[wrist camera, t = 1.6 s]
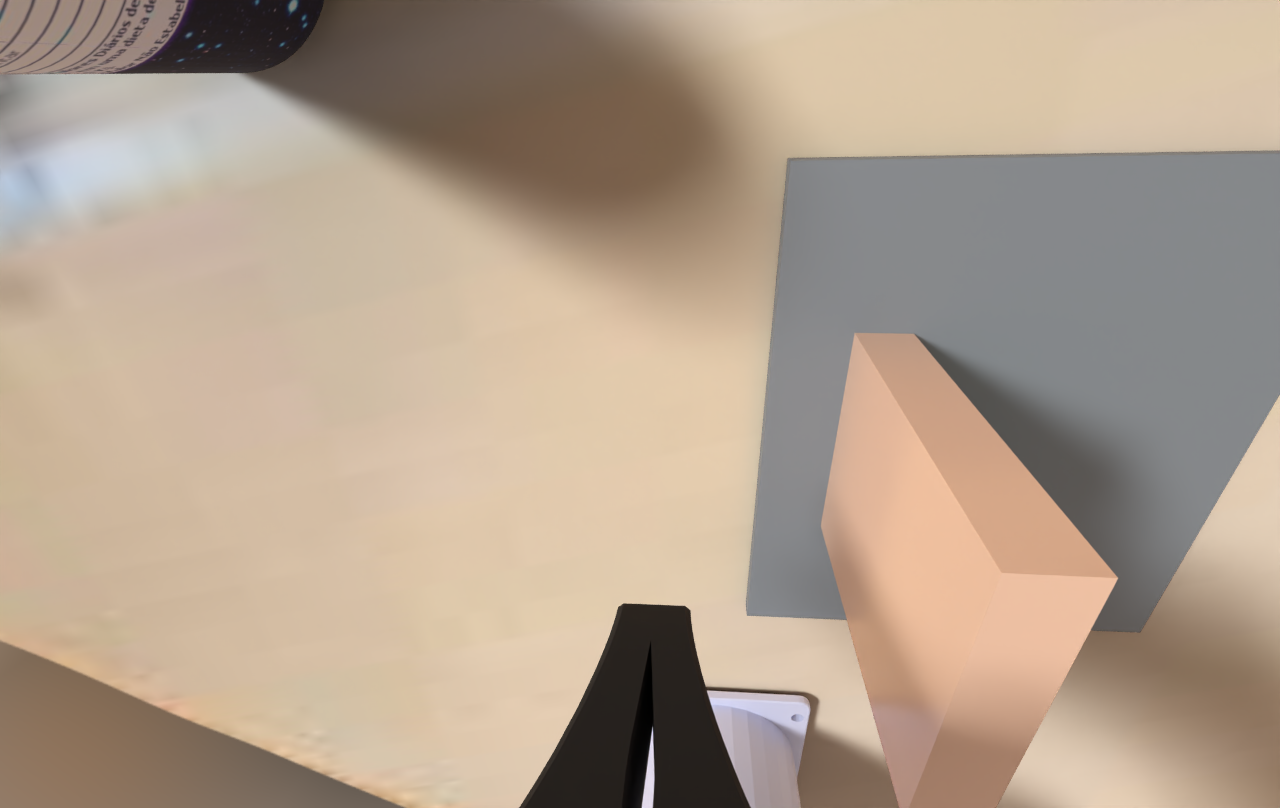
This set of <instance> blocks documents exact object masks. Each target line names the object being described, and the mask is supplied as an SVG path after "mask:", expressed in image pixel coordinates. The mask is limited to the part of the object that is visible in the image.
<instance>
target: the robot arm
mask: <svg viewBox="0 0 1280 808" xmlns="http://www.w3.org/2000/svg"><path fill="white" fill-rule="evenodd" d="M810 711H811V710H810V704H809V700H808V699H807V698H805V697H803V696H800V695H784V694H765V693H746V692H727V691H708V690H706V687H705V683H704V680H703V676H702V673H701V669H700V665H699V661H698V656H697V652H696V648H695V643H694V638H693V632H692V624H691V613H690V610H689V609H688V608H687V607H685V606H671V605H647V604H622V605H621V606H619V607H618V610H617V614H616V618H615V621H614V624H613V627H612V630H611V633H610V636H609V638H608V641H607V644H606V646H605V649H604V651H603V653H602V656H601V658H600V661H599V663H598V665H597V668H596V670H595V672H594V674H593V676H592V678H591V681H590V683H589V685H588V687H587V689H586V691H585V693H584V695H583V698H582V700H581V702H580V704H579V706H578V708H577V710H576V712H575V713H574V715H573V717H572V719H571V721H570V723H569V725H568V726H567V728H566V730H565V732H564V734H563V736H562V738H561V739H560V741H559V743H558V745H557V747H556V749H555V750H554V752H553V754H552V756H551V757H550V759H549V761H548V762H547V764H546V766H545V767H544V769H543V771H542V772H541V774H540V776H539V777H538V779H537V781H536V782H535V784H534V785H533V787H532V789H531V790H530V792H529V793H528V795H527V797H526V798H525V800H524V801H523V803H522V804H521V806H520V807H519V808H801V804H800V797H799V790H798V784H797V777H798V772H799V767H800V762H801V757H802V751H803V746H804V741H805V736H806V731H807V726H808V721H809V716H810Z"/></svg>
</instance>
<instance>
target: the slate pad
mask: <svg viewBox="0 0 1280 808" xmlns="http://www.w3.org/2000/svg"><path fill="white" fill-rule="evenodd" d="M855 333H897V334H915V336H916V337H917V338H918V339H919V340H920V342H921V343H922V344H923V345H924V346H925V348H926V349H927V350H928V351H929V352H930V353H931V355H932V356H933V357H934V358H935V359H936V361H937V362H938V363H939V364H940V365H941V367H942V368H943V369H944V370H945V371H946V373H947V374H948V375H949V376H950V377H951V379H952V380H953V381H954V382H955V383H956V385H957V386H958V387H959V388H960V389H961V391H962V392H963V393H964V394H965V395H966V397H967V398H968V399H969V400H970V401H971V403H972V404H973V405H974V406H975V407H976V409H977V410H978V411H979V412H980V413H981V415H982V416H983V417H984V418H985V419H986V421H987V422H988V423H989V424H990V425H991V427H992V428H993V429H994V430H995V431H996V432H997V434H998V435H999V436H1000V437H1001V438H1002V440H1003V441H1004V442H1005V443H1006V444H1007V446H1008V447H1009V448H1010V449H1011V450H1012V452H1013V453H1014V454H1015V455H1016V456H1017V458H1018V459H1019V460H1020V461H1021V462H1022V464H1023V465H1024V466H1025V467H1026V468H1027V470H1028V471H1029V472H1030V473H1031V474H1032V476H1033V477H1034V478H1035V479H1036V480H1037V482H1038V483H1039V484H1040V485H1041V486H1042V488H1043V489H1044V490H1045V491H1046V492H1047V494H1048V495H1049V496H1050V497H1051V498H1052V500H1053V501H1054V502H1055V503H1056V504H1057V506H1058V507H1059V508H1060V509H1061V510H1062V511H1063V513H1064V514H1065V515H1066V516H1067V517H1068V519H1069V520H1070V521H1071V522H1072V523H1073V525H1074V526H1075V527H1076V528H1077V529H1078V531H1079V532H1080V533H1081V534H1082V535H1083V537H1084V538H1085V539H1086V540H1087V541H1088V543H1089V544H1090V545H1091V546H1092V547H1093V549H1094V550H1095V551H1096V552H1097V553H1098V555H1099V556H1100V557H1101V558H1102V559H1103V561H1104V562H1105V563H1106V564H1107V565H1108V567H1109V568H1110V569H1111V570H1112V571H1113V573H1114V574H1115V575H1116V576H1117V577H1118V580H1117V582H1116V583H1115V585H1114V587H1113V589H1112V591H1111V593H1110V595H1109V597H1108V598H1107V600H1106V602H1105V604H1104V606H1103V608H1102V610H1101V612H1100V613H1099V615H1098V617H1097V619H1096V621H1095V623H1094V625H1093V627H1092V628H1091V630H1094V631H1117V632H1141V630H1142V629H1143V627H1144V625H1145V623H1146V622H1147V620H1148V618H1149V617H1150V615H1151V613H1152V611H1153V610H1154V608H1155V606H1156V605H1157V603H1158V601H1159V600H1160V598H1161V596H1162V594H1163V593H1164V591H1165V589H1166V588H1167V586H1168V584H1169V582H1170V581H1171V579H1172V577H1173V576H1174V574H1175V572H1176V571H1177V569H1178V567H1179V565H1180V564H1181V562H1182V560H1183V559H1184V557H1185V555H1186V553H1187V552H1188V550H1189V548H1190V547H1191V545H1192V543H1193V542H1194V540H1195V538H1196V536H1197V535H1198V533H1199V531H1200V530H1201V528H1202V526H1203V524H1204V523H1205V521H1206V519H1207V518H1208V516H1209V514H1210V513H1211V511H1212V509H1213V507H1214V506H1215V504H1216V502H1217V501H1218V499H1219V497H1220V495H1221V494H1222V492H1223V490H1224V489H1225V487H1226V485H1227V483H1228V482H1229V480H1230V478H1231V477H1232V475H1233V473H1234V472H1235V470H1236V468H1237V466H1238V465H1239V463H1240V461H1241V460H1242V458H1243V456H1244V454H1245V453H1246V451H1247V449H1248V448H1249V446H1250V444H1251V443H1252V441H1253V439H1254V437H1255V436H1256V434H1257V432H1258V431H1259V429H1260V427H1261V425H1262V424H1263V422H1264V420H1265V419H1266V417H1267V415H1268V414H1269V412H1270V410H1271V408H1272V407H1273V405H1274V403H1275V402H1276V400H1277V398H1278V396H1279V395H1280V151H1222V152H1156V153H1090V154H1024V155H958V156H893V157H827V158H788V161H787V172H786V182H785V193H784V204H783V214H782V225H781V236H780V246H779V257H778V268H777V278H776V289H775V300H774V310H773V321H772V332H771V342H770V353H769V364H768V374H767V385H766V396H765V406H764V417H763V427H762V438H761V449H760V459H759V470H758V481H757V491H756V502H755V513H754V523H753V534H752V545H751V555H750V566H749V577H748V587H747V598H746V611H747V616H769V617H793V618H816V619H839V620H847V619H846V615H845V611H844V608H843V604H842V601H841V597H840V593H839V590H838V586H837V583H836V579H835V575H834V572H833V568H832V565H831V561H830V557H829V554H828V550H827V547H826V543H825V540H824V536H823V532H822V529H821V521H822V515H823V510H824V504H825V498H826V493H827V487H828V481H829V476H830V470H831V464H832V459H833V453H834V447H835V442H836V436H837V430H838V425H839V419H840V413H841V408H842V402H843V396H844V390H845V385H846V379H847V373H848V368H849V362H850V356H851V351H852V345H853V339H854V334H855Z"/></svg>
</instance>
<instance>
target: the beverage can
mask: <svg viewBox="0 0 1280 808" xmlns="http://www.w3.org/2000/svg"><path fill="white" fill-rule="evenodd" d="M323 2H324V0H0V74H133V73H248V72H256V71H261V70H264V69H267V68H270V67H273V66H275V65H277V64H279V63H281V62H283V61H284V60H286V59H287V58H289V57H290V56H291V55H293V54H294V53H295V52H296V51H297V50H298V49H299V48H300V47H301V46H302V44H303V43H304V42H305V41H306V39H307V38H308V37H309V35H310V34H311V32H312V30H313V28H314V26H315V24H316V22H317V20H318V18H319V15H320V12H321V9H322V6H323Z"/></svg>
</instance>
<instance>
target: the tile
mask: <svg viewBox="0 0 1280 808" xmlns="http://www.w3.org/2000/svg"><path fill="white" fill-rule="evenodd" d="M821 529H822V532H823V536H824V540H825V543H826V547H827V550H828V554H829V557H830V561H831V565H832V568H833V572H834V575H835V579H836V583H837V586H838V590H839V593H840V597H841V601H842V604H843V608H844V611H845V615H846V619H847V622H848V626H849V629H850V633H851V636H852V640H853V644H854V647H855V651H856V654H857V658H858V662H859V665H860V669H861V672H862V676H863V680H864V683H865V687H866V690H867V694H868V698H869V701H870V705H871V708H872V712H873V716H874V719H875V723H876V726H877V730H878V733H879V737H880V741H881V744H882V748H883V751H884V755H885V759H886V762H887V766H888V769H889V773H890V777H891V780H892V784H893V787H894V791H895V795H896V798H897V802H898V805H899V808H996V807H997V805H998V803H999V801H1000V799H1001V797H1002V795H1003V794H1004V792H1005V790H1006V788H1007V786H1008V784H1009V782H1010V780H1011V779H1012V777H1013V775H1014V773H1015V771H1016V769H1017V767H1018V765H1019V764H1020V762H1021V760H1022V758H1023V756H1024V754H1025V752H1026V750H1027V749H1028V747H1029V745H1030V743H1031V741H1032V739H1033V737H1034V735H1035V734H1036V732H1037V730H1038V728H1039V726H1040V724H1041V722H1042V720H1043V719H1044V717H1045V715H1046V713H1047V711H1048V709H1049V707H1050V705H1051V704H1052V702H1053V700H1054V698H1055V696H1056V694H1057V692H1058V690H1059V689H1060V687H1061V685H1062V683H1063V681H1064V679H1065V677H1066V675H1067V673H1068V672H1069V670H1070V668H1071V666H1072V664H1073V662H1074V660H1075V658H1076V657H1077V655H1078V653H1079V651H1080V649H1081V647H1082V645H1083V643H1084V642H1085V640H1086V638H1087V636H1088V634H1089V632H1090V630H1091V628H1092V627H1093V625H1094V623H1095V621H1096V619H1097V617H1098V615H1099V613H1100V612H1101V610H1102V608H1103V606H1104V604H1105V602H1106V600H1107V598H1108V597H1109V595H1110V593H1111V591H1112V589H1113V587H1114V585H1115V583H1116V582H1117V580H1118V577H1117V576H1116V575H1115V574H1114V573H1113V571H1112V570H1111V569H1110V568H1109V567H1108V565H1107V564H1106V563H1105V562H1104V561H1103V559H1102V558H1101V557H1100V556H1099V555H1098V553H1097V552H1096V551H1095V550H1094V549H1093V547H1092V546H1091V545H1090V544H1089V543H1088V541H1087V540H1086V539H1085V538H1084V537H1083V535H1082V534H1081V533H1080V532H1079V531H1078V529H1077V528H1076V527H1075V526H1074V525H1073V523H1072V522H1071V521H1070V520H1069V519H1068V517H1067V516H1066V515H1065V514H1064V513H1063V511H1062V510H1061V509H1060V508H1059V507H1058V506H1057V504H1056V503H1055V502H1054V501H1053V500H1052V498H1051V497H1050V496H1049V495H1048V494H1047V492H1046V491H1045V490H1044V489H1043V488H1042V486H1041V485H1040V484H1039V483H1038V482H1037V480H1036V479H1035V478H1034V477H1033V476H1032V474H1031V473H1030V472H1029V471H1028V470H1027V468H1026V467H1025V466H1024V465H1023V464H1022V462H1021V461H1020V460H1019V459H1018V458H1017V456H1016V455H1015V454H1014V453H1013V452H1012V450H1011V449H1010V448H1009V447H1008V446H1007V444H1006V443H1005V442H1004V441H1003V440H1002V438H1001V437H1000V436H999V435H998V434H997V432H996V431H995V430H994V429H993V428H992V427H991V425H990V424H989V423H988V422H987V421H986V419H985V418H984V417H983V416H982V415H981V413H980V412H979V411H978V410H977V409H976V407H975V406H974V405H973V404H972V403H971V401H970V400H969V399H968V398H967V397H966V395H965V394H964V393H963V392H962V391H961V389H960V388H959V387H958V386H957V385H956V383H955V382H954V381H953V380H952V379H951V377H950V376H949V375H948V374H947V373H946V371H945V370H944V369H943V368H942V367H941V365H940V364H939V363H938V362H937V361H936V359H935V358H934V357H933V356H932V355H931V353H930V352H929V351H928V350H927V349H926V348H925V346H924V345H923V344H922V343H921V342H920V340H919V339H918V338H917V337H916V336H915V334H897V333H855V334H854V339H853V345H852V351H851V356H850V362H849V368H848V373H847V379H846V385H845V390H844V396H843V402H842V408H841V413H840V419H839V425H838V430H837V436H836V442H835V447H834V453H833V459H832V464H831V470H830V476H829V481H828V487H827V493H826V498H825V504H824V510H823V515H822V521H821Z"/></svg>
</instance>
